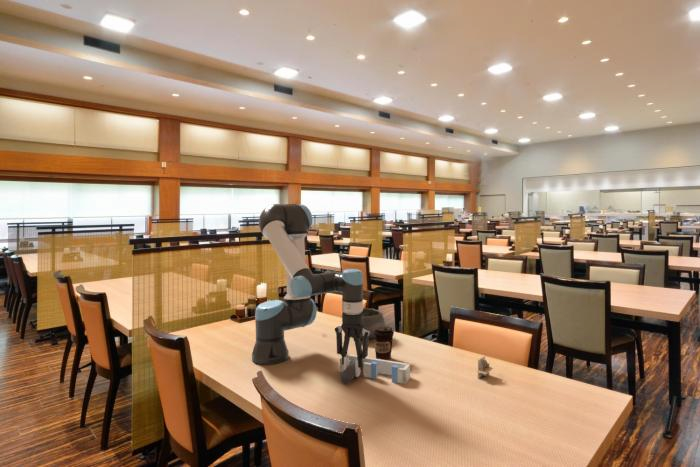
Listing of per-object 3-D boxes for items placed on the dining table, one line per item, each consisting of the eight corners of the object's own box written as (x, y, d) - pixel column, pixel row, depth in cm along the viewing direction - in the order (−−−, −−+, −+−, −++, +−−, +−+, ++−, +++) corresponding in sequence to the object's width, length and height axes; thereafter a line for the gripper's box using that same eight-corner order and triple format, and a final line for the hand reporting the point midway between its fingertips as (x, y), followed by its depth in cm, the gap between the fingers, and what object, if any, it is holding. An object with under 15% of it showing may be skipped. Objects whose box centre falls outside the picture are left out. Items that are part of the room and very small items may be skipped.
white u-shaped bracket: (339, 372, 152) (339, 358, 152) (346, 366, 158) (346, 352, 158) (405, 384, 141) (405, 368, 141) (410, 377, 147) (410, 362, 147)
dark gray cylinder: (350, 383, 140) (350, 372, 140) (340, 382, 142) (339, 371, 142) (363, 370, 151) (363, 360, 151) (353, 369, 153) (353, 359, 153)
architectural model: (493, 377, 148) (493, 357, 148) (485, 383, 143) (485, 363, 142) (484, 374, 150) (484, 355, 150) (476, 380, 145) (476, 360, 145)
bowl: (390, 335, 196) (391, 310, 196) (373, 346, 181) (373, 318, 180) (360, 329, 206) (360, 305, 205) (340, 339, 191) (340, 313, 190)
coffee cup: (392, 363, 160) (392, 331, 160) (372, 362, 162) (372, 330, 161) (394, 355, 169) (394, 325, 168) (375, 354, 171) (375, 324, 170)
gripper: (326, 311, 145) (326, 374, 147) (370, 317, 138) (369, 382, 140) (336, 307, 152) (335, 366, 153) (377, 312, 145) (377, 374, 146)
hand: (352, 374), depth 146 cm, fingers closed on dark gray cylinder, 4 cm apart
